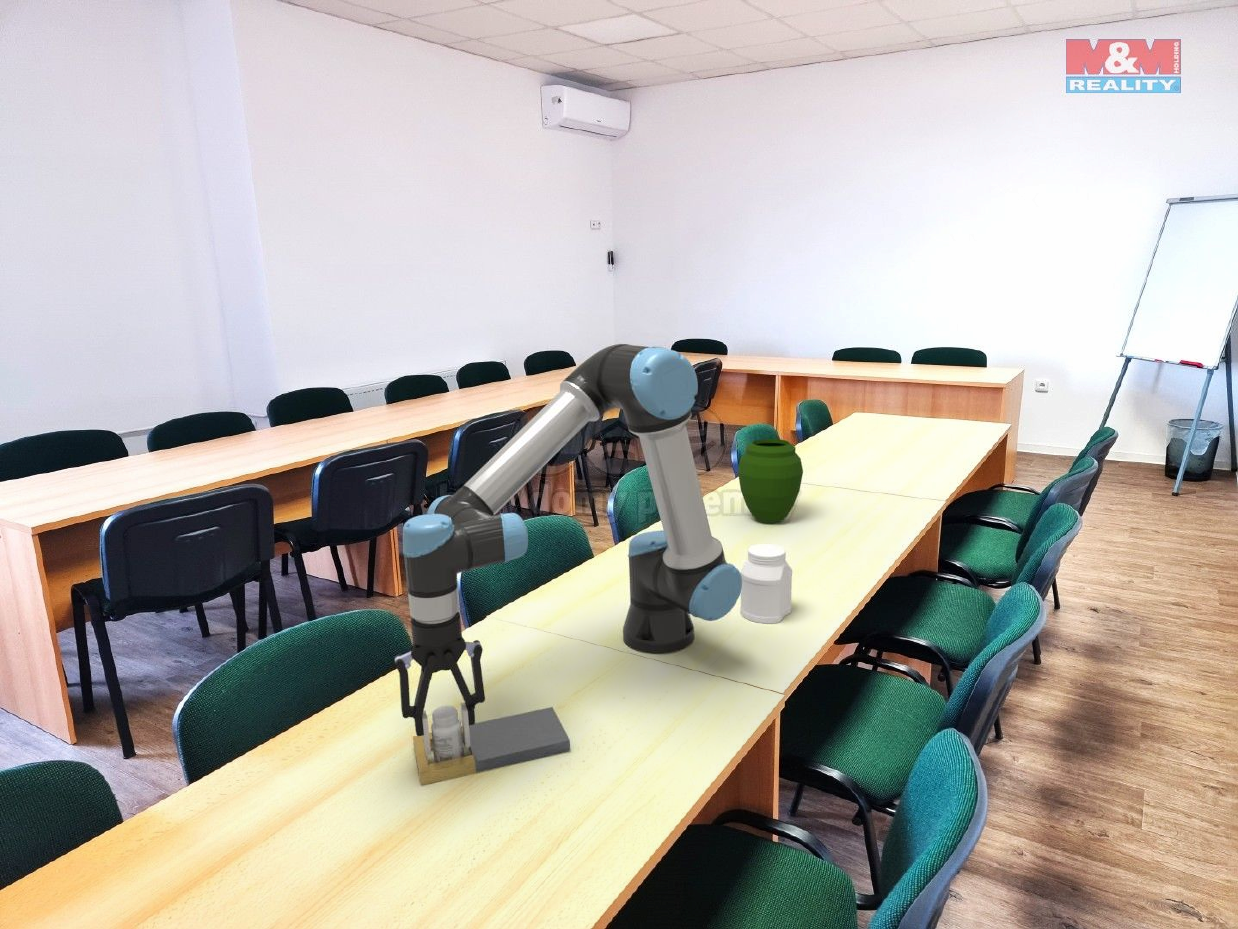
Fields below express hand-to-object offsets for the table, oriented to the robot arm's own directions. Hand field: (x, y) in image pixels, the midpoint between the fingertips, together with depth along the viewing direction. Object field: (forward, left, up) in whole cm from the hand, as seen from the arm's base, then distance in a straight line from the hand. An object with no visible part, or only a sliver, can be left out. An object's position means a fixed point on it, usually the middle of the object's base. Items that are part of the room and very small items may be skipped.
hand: (447, 746), depth 129 cm
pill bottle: (0, 0, -2) cm, 2 cm away
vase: (-110, -88, -2) cm, 141 cm away
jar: (-75, -29, -2) cm, 80 cm away
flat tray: (-7, 0, -2) cm, 7 cm away
